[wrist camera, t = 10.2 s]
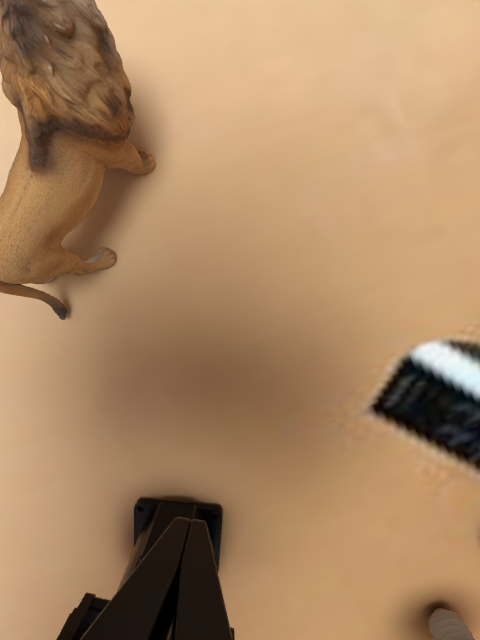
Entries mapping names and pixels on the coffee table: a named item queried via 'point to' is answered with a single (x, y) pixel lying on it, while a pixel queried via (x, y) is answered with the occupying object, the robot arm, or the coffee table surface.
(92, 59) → the lion figurine
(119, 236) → the coffee table surface
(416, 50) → the coffee table surface
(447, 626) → the lightbulb
